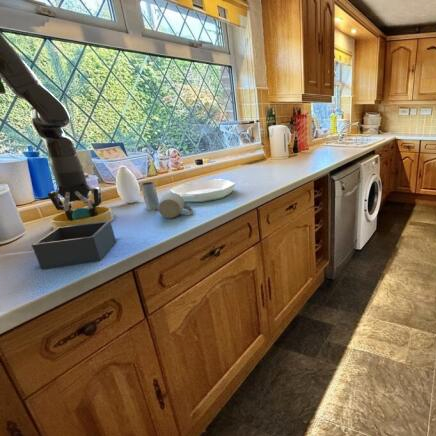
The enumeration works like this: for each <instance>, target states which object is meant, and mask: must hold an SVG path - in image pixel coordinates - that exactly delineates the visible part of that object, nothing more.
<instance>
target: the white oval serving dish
mask: <svg viewBox="0 0 436 436" xmlns="http://www.w3.org/2000/svg"><path fill="white" fill-rule="evenodd" d="M235 187H236V183H235V182H233V181H230V180H228V179H223V178H215V179H205V180H199V181H193V182H186V183H183V184H179V185H176V186H174V187H172V188H169V189H168V190H169V191H170V192H169V193H176V194H178V195H180V196H181V197H182V198H183V200H184V203H206V202H210V201H211V202H212V201H216V200H220V199H223V198H225V197H227V196H229V195H230V194H232V192H233V191H234V189H235Z"/></svg>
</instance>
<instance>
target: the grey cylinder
mask: <svg viewBox="0 0 436 436" xmlns="http://www.w3.org/2000/svg"><path fill="white" fill-rule="evenodd" d="M140 189H141V191H142V196H143V201H144V205H145V208H146V210H147V211H153V210H154V211H159V210H158V206H159V203H160V201H159V197H158V193H157V188H156V184H155V182H154V181H146V182H142V183H140Z"/></svg>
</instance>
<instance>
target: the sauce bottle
mask: <svg viewBox="0 0 436 436" xmlns="http://www.w3.org/2000/svg"><path fill="white" fill-rule="evenodd" d="M115 175H116V176H115V188H116V191H117V194H118V196H119V198H120V199H122V201H124V202H126V203H128V204H134V203H135V202H137V201H138V200H139V198H140V195H141V186H140V184H139V181H138V179H137V178H136V176H135V175H134V173H133V172H132V171H131V170H130V169H129V168H127V165H124V164H123V161H122V160H120V166H118V170H117V172H116V174H115Z"/></svg>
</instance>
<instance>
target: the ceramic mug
mask: <svg viewBox="0 0 436 436" xmlns="http://www.w3.org/2000/svg"><path fill="white" fill-rule="evenodd" d="M157 211H158V213H159V214H160V215H161V216H162V217H163V218H166V219H174V218H176V217H178V216H179V215H180V214H181V215H185V216H190V215H192V214H193V213H194V208H192V207H191V206H189V205H187V204H185V202H184V200H183V198H182V197H181V196H180V195H178V194H176V193H171V192H167V193H165V194H164V195H163V196H162V197H161V199H160V201H159V206H158V210H157Z"/></svg>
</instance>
